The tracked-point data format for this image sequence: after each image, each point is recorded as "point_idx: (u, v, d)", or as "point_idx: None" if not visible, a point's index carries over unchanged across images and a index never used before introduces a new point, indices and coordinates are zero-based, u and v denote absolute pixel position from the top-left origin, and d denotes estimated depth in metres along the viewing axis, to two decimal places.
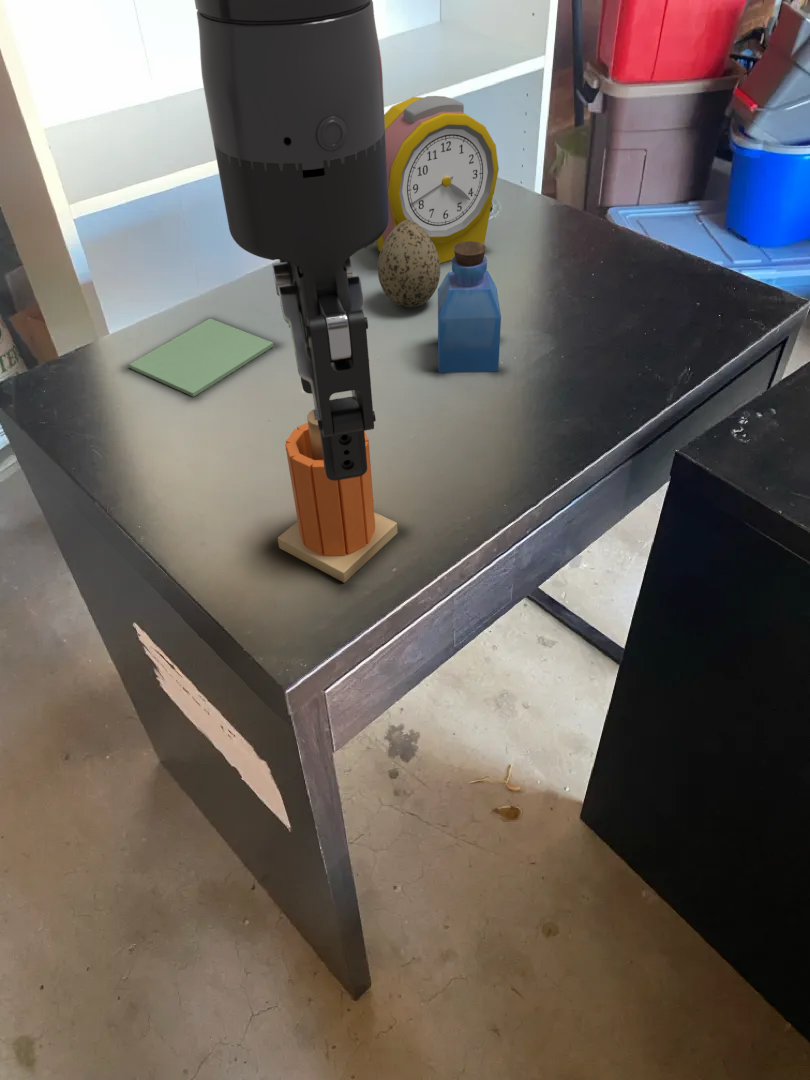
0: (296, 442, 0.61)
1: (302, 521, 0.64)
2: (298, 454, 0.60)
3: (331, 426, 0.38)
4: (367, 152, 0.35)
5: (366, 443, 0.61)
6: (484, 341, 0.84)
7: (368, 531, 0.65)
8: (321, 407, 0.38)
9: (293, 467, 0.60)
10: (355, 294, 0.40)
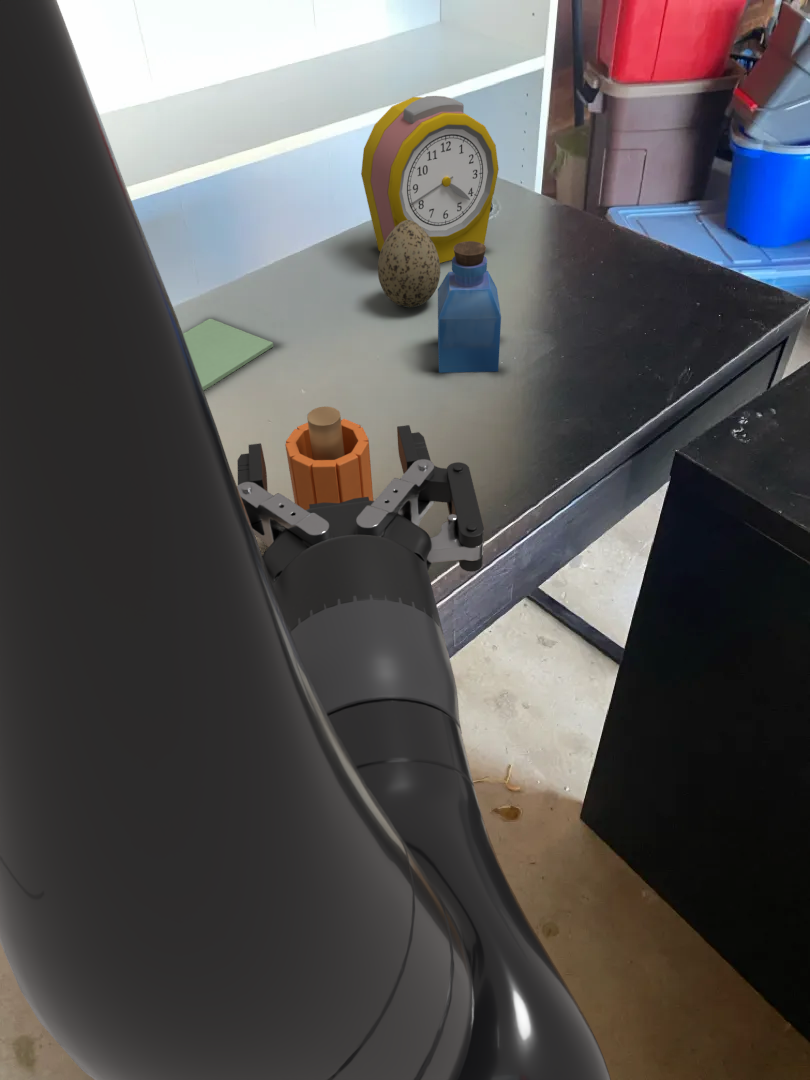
0: (296, 442, 0.61)
1: None
2: (298, 454, 0.60)
3: None
4: None
5: (366, 443, 0.61)
6: (484, 341, 0.84)
7: None
8: None
9: (293, 467, 0.60)
10: None
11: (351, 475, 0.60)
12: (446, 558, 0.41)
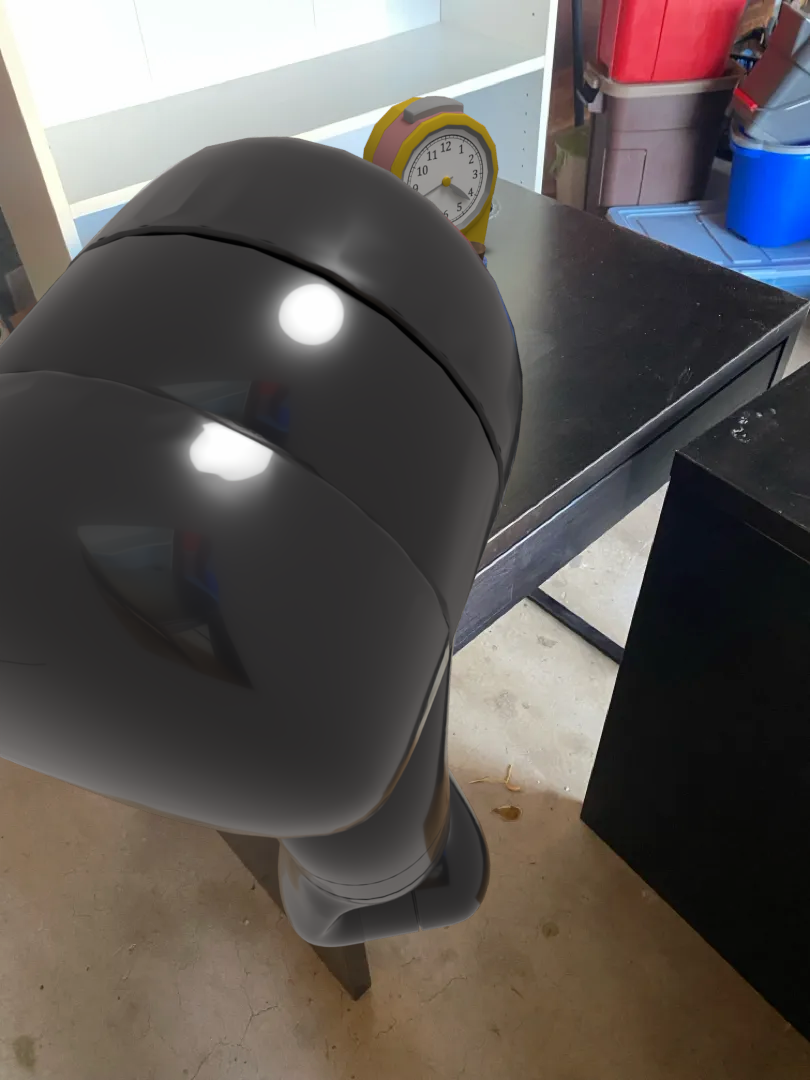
0: None
1: None
2: None
3: None
4: None
5: None
6: None
7: None
8: None
9: None
10: None
11: None
12: None
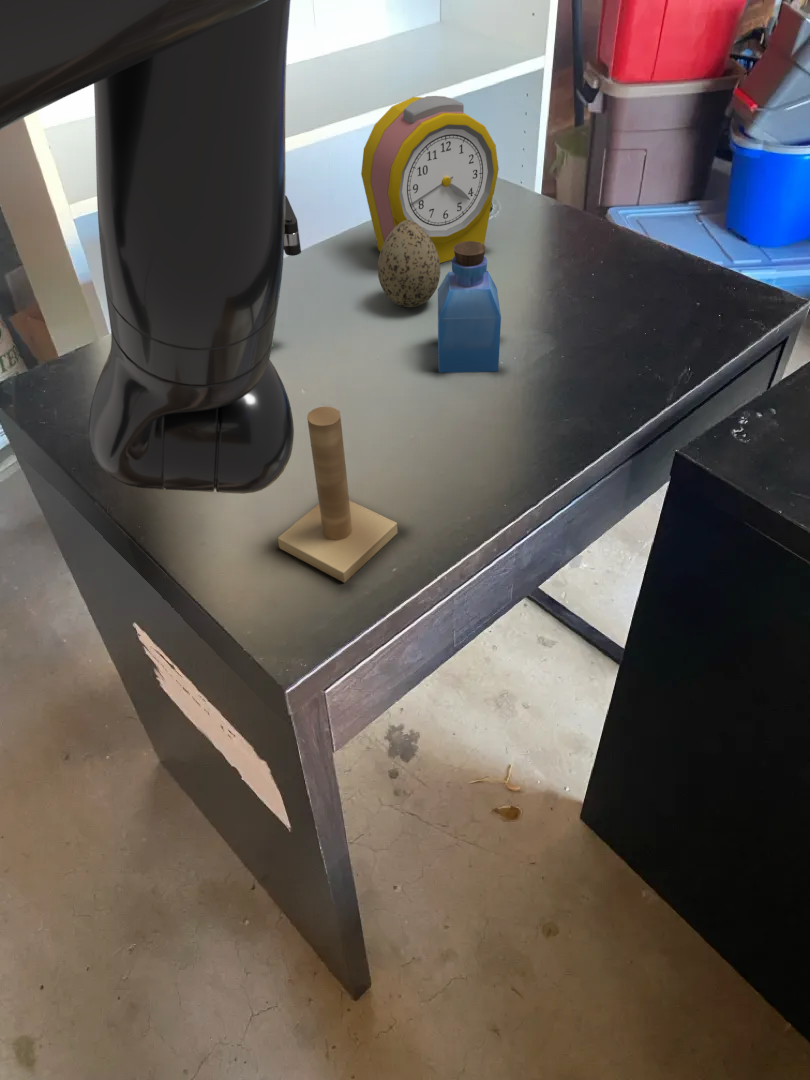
0: None
1: None
2: None
3: None
4: None
5: None
6: (484, 341, 0.84)
7: None
8: None
9: None
10: None
11: None
12: None
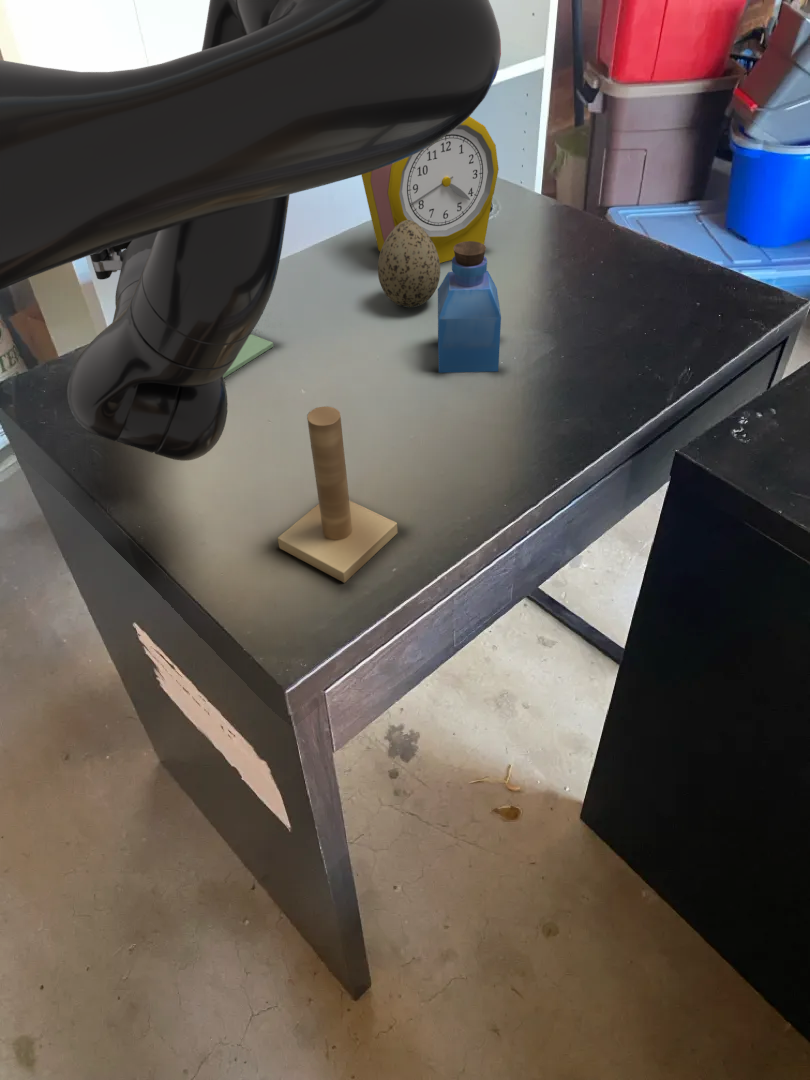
0: None
1: None
2: None
3: None
4: None
5: None
6: (484, 341, 0.84)
7: None
8: None
9: None
10: None
11: None
12: None
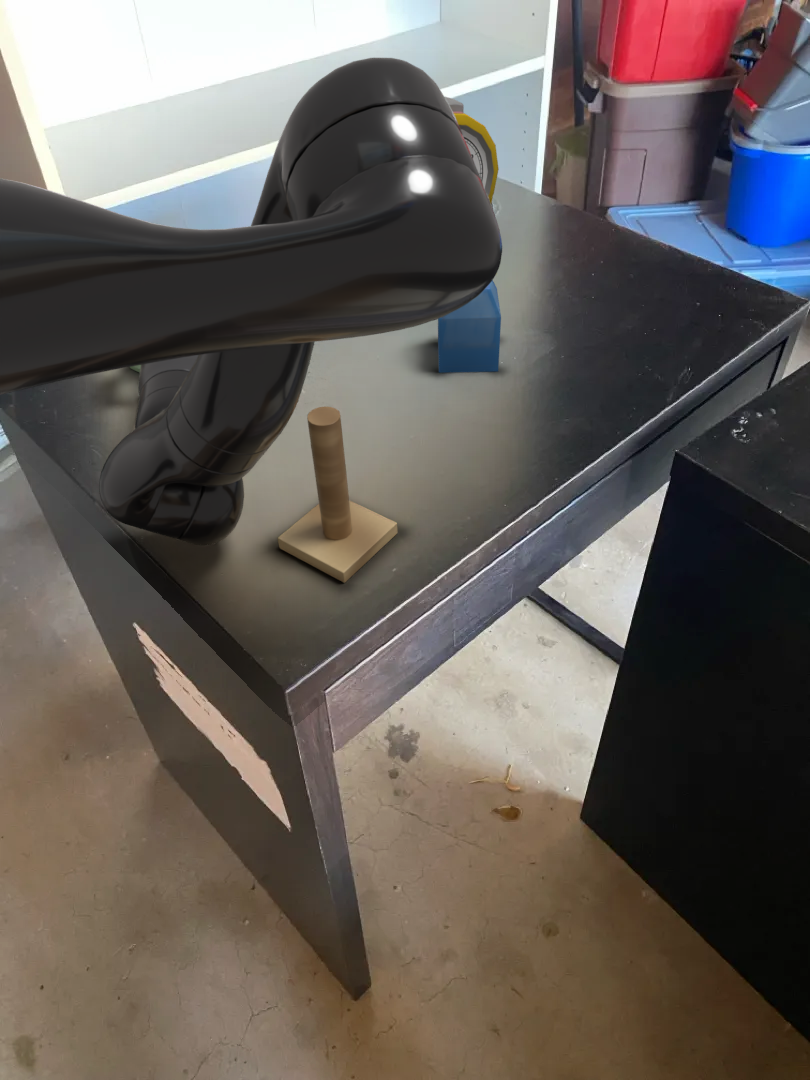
0: None
1: None
2: None
3: None
4: None
5: None
6: (484, 341, 0.84)
7: None
8: None
9: None
10: None
11: None
12: None
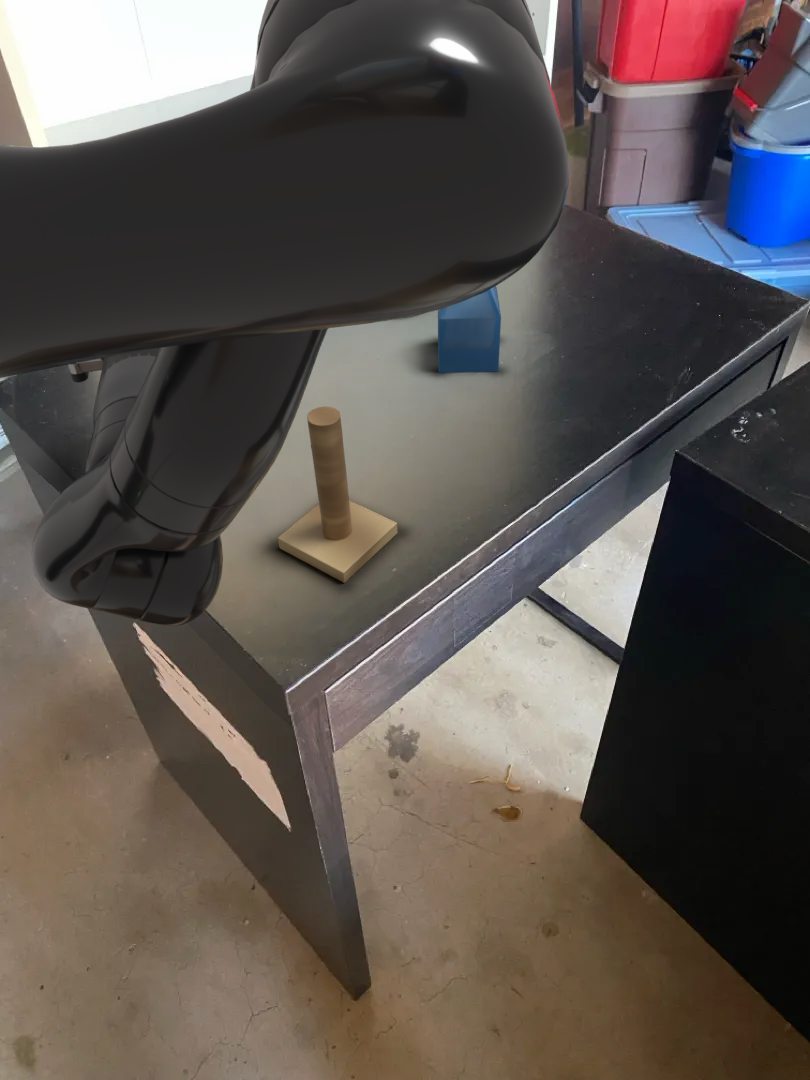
0: None
1: None
2: None
3: None
4: None
5: None
6: (484, 341, 0.84)
7: None
8: None
9: None
10: None
11: None
12: None
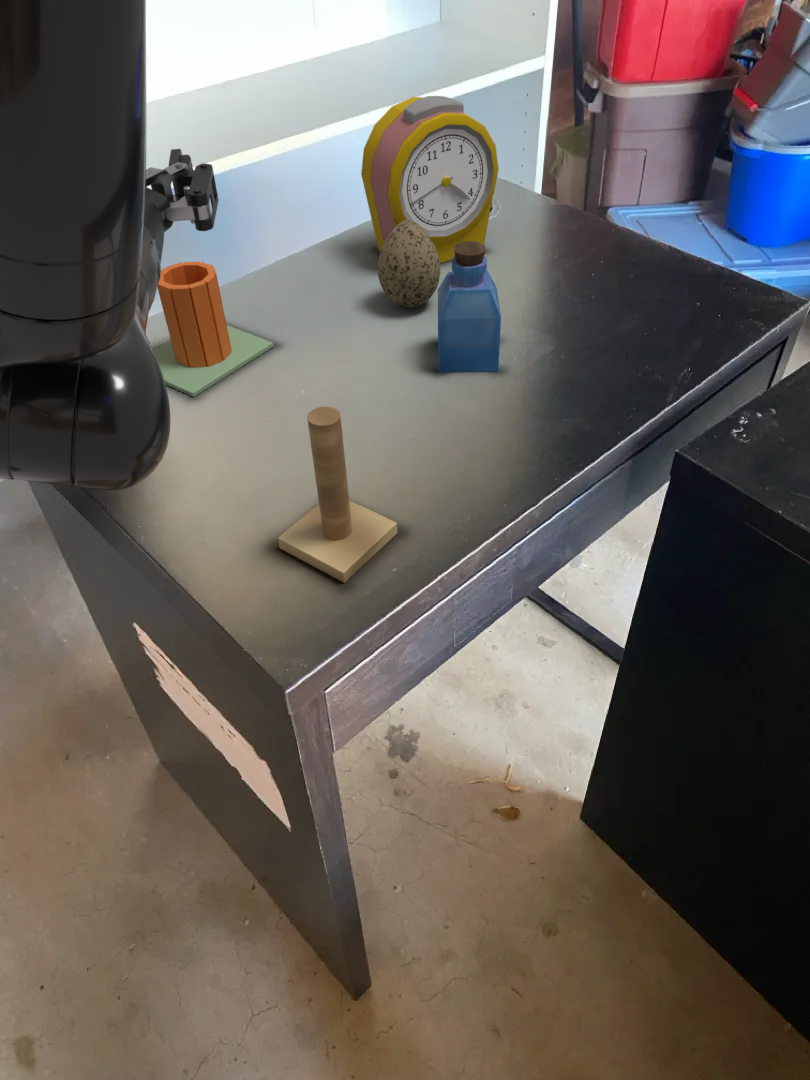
0: (163, 275, 0.84)
1: (172, 339, 0.87)
2: (163, 282, 0.83)
3: None
4: None
5: (213, 275, 0.83)
6: (484, 341, 0.84)
7: (223, 349, 0.88)
8: None
9: (159, 292, 0.83)
10: None
11: (201, 297, 0.83)
12: (181, 217, 0.56)
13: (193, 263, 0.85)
